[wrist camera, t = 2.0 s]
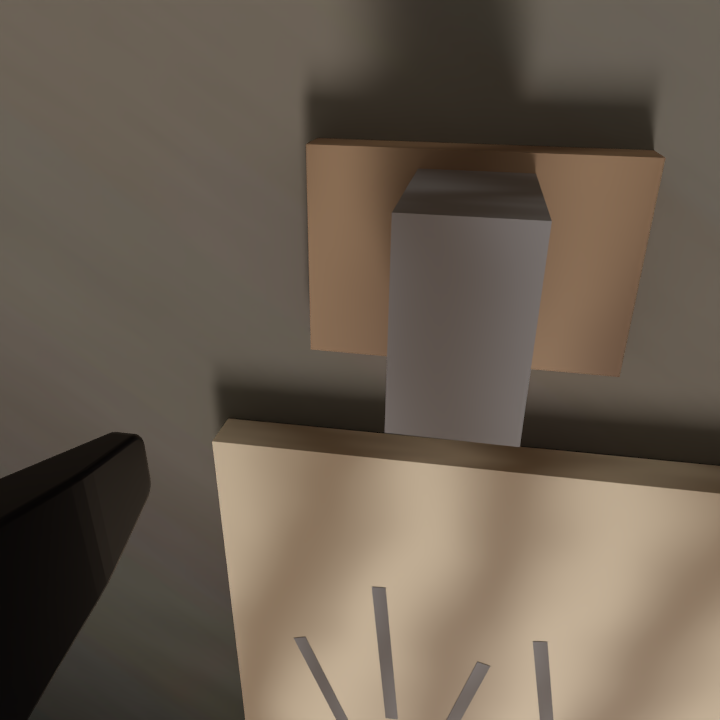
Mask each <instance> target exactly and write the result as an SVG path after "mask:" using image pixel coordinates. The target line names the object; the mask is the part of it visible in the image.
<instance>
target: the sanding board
mask: <svg viewBox="0 0 720 720" xmlns="http://www.w3.org/2000/svg"><path fill="white" fill-rule="evenodd" d="M212 444H213V452H214V461H215V469H216V478H217V486H218V494H219V503H220V511H221V519H222V528H223V536H224V544H225V553H226V561H227V569H228V578H229V586H230V595H231V603H232V611H233V620H234V628H235V636H236V645H237V653H238V661H239V670H240V678H241V686H242V695H243V703H244V712H245V720H720V466H715V465H705V464H694V463H684V462H674V461H663V460H653V459H643V458H632V457H622V456H612V455H601V454H591V453H581V452H570V451H560V450H550V449H539V448H529V447H514V446H504V445H495V444H486V443H476V442H467V441H456V440H446V439H436V438H425V437H415V436H405V435H394V434H384V433H374V432H363V431H353V430H343V429H332V428H322V427H312V426H301V425H291V424H281V423H270V422H260V421H250V420H239V419H229V418H228V420H227V421H226V422H225V424H224V425H223V427H222V428H221V429H220V431H219V432H218V434H217V435H216V437H215V438H214V439H213V441H212Z"/></svg>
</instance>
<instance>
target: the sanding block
mask: <svg viewBox="0 0 720 720" xmlns="http://www.w3.org/2000/svg"><path fill="white" fill-rule="evenodd" d="M664 162H665V157H663V156H662V155H660V154H659V153H657V152H656V151H654V150H633V149H606V148H578V147H551V146H523V145H496V144H469V143H441V142H414V141H386V140H359V139H331V138H317V139H315V140H313V141H311V142H309V143H307V144H306V164H307V206H308V247H309V289H310V330H311V349H312V350H323V351H334V352H346V353H357V354H368V355H379V356H387V374H386V404H385V433H393V434H402V435H412V436H421V437H430V438H439V439H449V440H458V441H467V442H476V443H486V444H495V445H504V446H514V447H520V442H521V435H522V428H523V421H524V414H525V407H526V400H527V393H528V386H529V379H530V372H531V369H536V370H548V371H559V372H570V373H581V374H592V375H604V376H615V377H619V376H620V372H621V367H622V362H623V357H624V353H625V348H626V343H627V338H628V334H629V329H630V324H631V319H632V314H633V310H634V305H635V300H636V295H637V291H638V286H639V281H640V276H641V272H642V267H643V262H644V257H645V253H646V248H647V243H648V238H649V233H650V229H651V224H652V219H653V214H654V210H655V205H656V200H657V195H658V191H659V186H660V181H661V176H662V172H663V167H664Z"/></svg>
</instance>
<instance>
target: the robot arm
mask: <svg viewBox="0 0 720 720" xmlns="http://www.w3.org/2000/svg"><path fill="white" fill-rule="evenodd" d="M150 486H151V481H150V474H149V468H148V463H147V457H146V451H145V445H144V442H143V440H142V438H141V437H140V436H139V435H137V434H130V433H120V432H112V433H109V434H106V435H104V436H102V437H99V438H97V439H94V440H92V441H90V442H87V443H85V444H82V445H80V446H78V447H75V448H73V449H70V450H68V451H66V452H63V453H61V454H58V455H56V456H54V457H51V458H49V459H46V460H44V461H42V462H39V463H37V464H34V465H32V466H29V467H27V468H25V469H22V470H20V471H17V472H15V473H13V474H10V475H8V476H5V477H3V478H1V479H0V720H28V718H29V716H30V715H31V713H32V711H33V710H34V708H35V706H36V705H37V703H38V701H39V700H40V698H41V696H42V695H43V693H44V691H45V689H46V688H47V686H48V684H49V683H50V681H51V679H52V678H53V676H54V674H55V673H56V671H57V669H58V668H59V666H60V664H61V663H62V661H63V659H64V657H65V656H66V654H67V652H68V651H69V649H70V647H71V646H72V644H73V642H74V641H75V639H76V637H77V636H78V634H79V632H80V631H81V629H82V627H83V626H84V624H85V622H86V620H87V619H88V617H89V615H90V614H91V612H92V610H93V609H94V607H95V605H96V604H97V602H98V600H99V599H100V597H101V595H102V593H103V591H104V590H105V588H106V586H107V584H108V582H109V580H110V578H111V576H112V574H113V572H114V570H115V568H116V566H117V564H118V562H119V559H120V557H121V555H122V553H123V551H124V549H125V546H126V544H127V542H128V540H129V538H130V535H131V533H132V531H133V529H134V527H135V525H136V522H137V520H138V518H139V516H140V514H141V511H142V509H143V507H144V505H145V503H146V501H147V498H148V496H149V492H150Z"/></svg>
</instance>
